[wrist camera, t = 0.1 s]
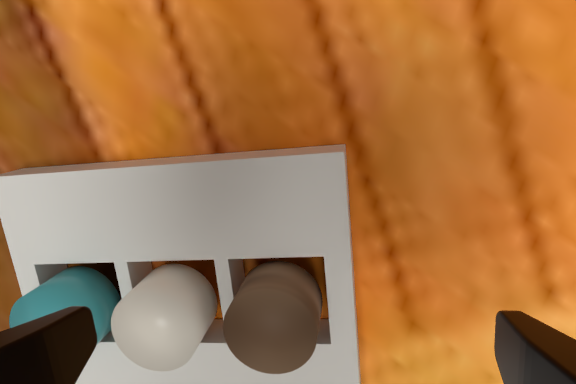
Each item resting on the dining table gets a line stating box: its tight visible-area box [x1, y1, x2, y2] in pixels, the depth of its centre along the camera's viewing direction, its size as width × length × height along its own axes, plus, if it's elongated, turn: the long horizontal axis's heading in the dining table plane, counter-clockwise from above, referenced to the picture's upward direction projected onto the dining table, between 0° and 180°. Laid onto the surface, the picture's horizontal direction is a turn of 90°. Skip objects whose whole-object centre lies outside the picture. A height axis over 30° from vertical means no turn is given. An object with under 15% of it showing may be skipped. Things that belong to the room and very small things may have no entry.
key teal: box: [9, 266, 120, 344], centre depth 23 cm, size 5×5×3 cm
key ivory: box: [111, 264, 217, 372], centre depth 22 cm, size 5×5×3 cm
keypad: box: [0, 144, 361, 384], centre depth 25 cm, size 16×20×2 cm
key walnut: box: [223, 261, 322, 374], centre depth 21 cm, size 5×5×3 cm
